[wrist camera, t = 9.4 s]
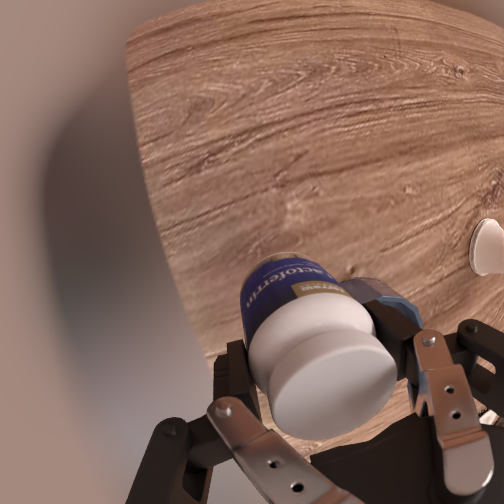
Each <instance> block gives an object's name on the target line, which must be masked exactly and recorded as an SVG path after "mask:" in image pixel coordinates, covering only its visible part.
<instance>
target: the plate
mask: <svg viewBox="0 0 504 504" xmlns="http://www.w3.org/2000/svg"><path fill="white" fill-rule="evenodd" d="M496 415H497V414H496V413H495V412H493V411H492V410H488V411H487V412H486V413H484V414H482V415H481V416H479V420H480V423H483V424H489V425H491V423H492V422H493V420H494V419H495V417H496Z"/></svg>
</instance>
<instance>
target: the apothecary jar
mask: <svg viewBox="0 0 504 504" xmlns="http://www.w3.org/2000/svg"><path fill="white" fill-rule="evenodd" d="M494 425H495V426H502V427H504V419H503V418H501V417H500V418H499V419H498V420H497V421H496V423H495V424H494Z"/></svg>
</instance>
